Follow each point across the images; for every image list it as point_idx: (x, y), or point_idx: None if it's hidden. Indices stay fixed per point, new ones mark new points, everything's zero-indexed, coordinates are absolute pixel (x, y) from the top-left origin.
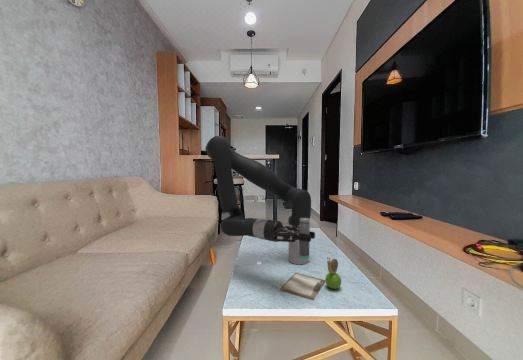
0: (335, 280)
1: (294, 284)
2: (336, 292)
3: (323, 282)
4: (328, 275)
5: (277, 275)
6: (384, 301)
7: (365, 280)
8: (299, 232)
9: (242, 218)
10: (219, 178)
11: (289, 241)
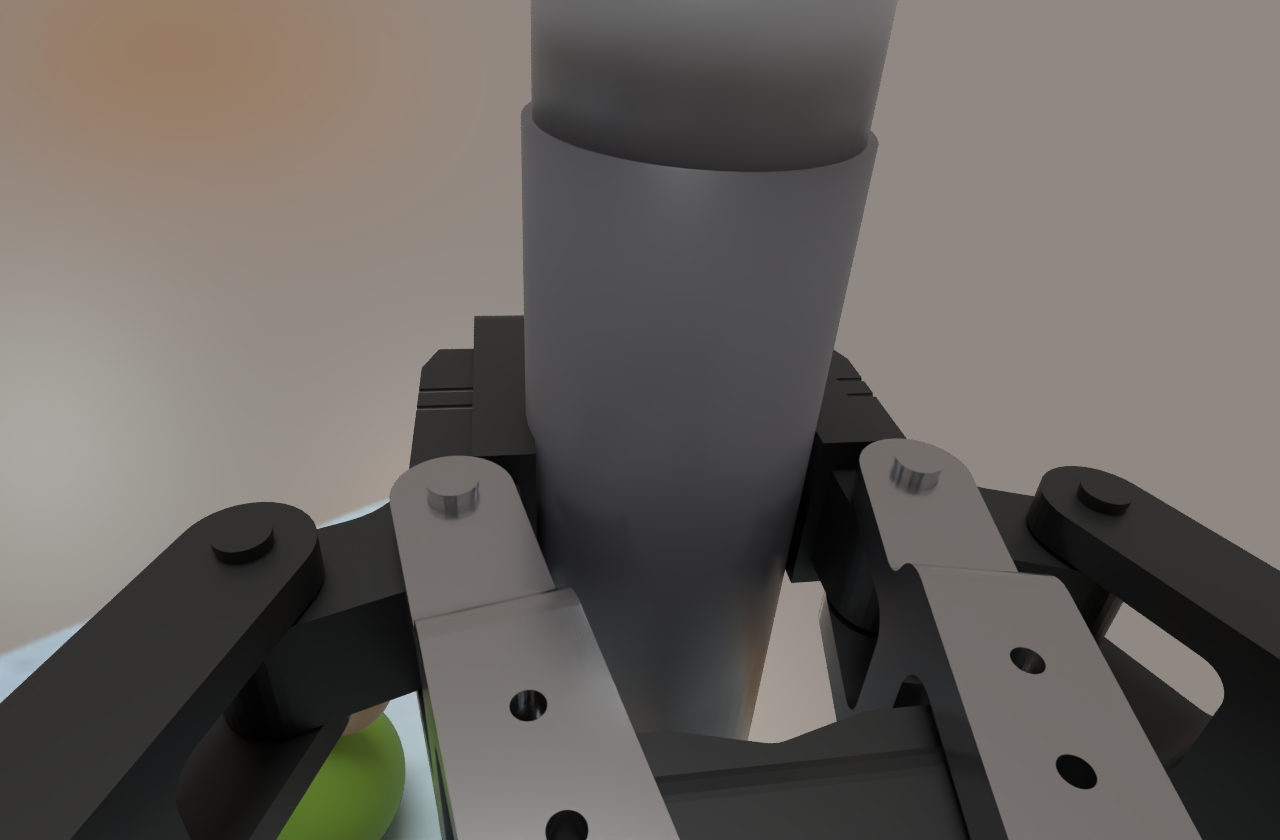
0: (381, 714)
1: None
2: (405, 775)
3: None
4: (338, 779)
5: None
6: (377, 508)
7: (49, 638)
8: (785, 474)
9: None
10: None
11: (1164, 707)
